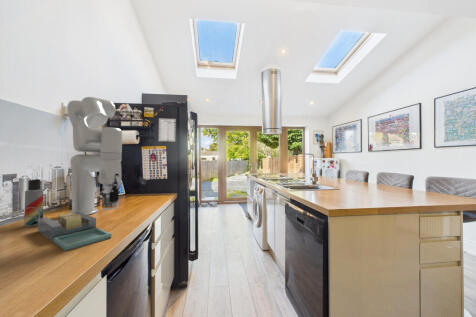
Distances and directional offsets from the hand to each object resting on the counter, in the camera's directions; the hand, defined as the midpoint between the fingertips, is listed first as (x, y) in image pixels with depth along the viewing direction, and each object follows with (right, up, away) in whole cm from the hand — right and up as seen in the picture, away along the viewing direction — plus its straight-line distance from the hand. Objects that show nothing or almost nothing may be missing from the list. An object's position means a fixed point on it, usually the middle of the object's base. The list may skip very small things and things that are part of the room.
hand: (110, 199), depth 84 cm
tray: (-1, -11, -14) cm, 18 cm away
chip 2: (-10, -8, -7) cm, 15 cm away
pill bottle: (0, -4, 0) cm, 4 cm away
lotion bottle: (-35, -12, +3) cm, 37 cm away
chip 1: (-14, -9, -5) cm, 17 cm away
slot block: (-15, -12, -4) cm, 19 cm away
